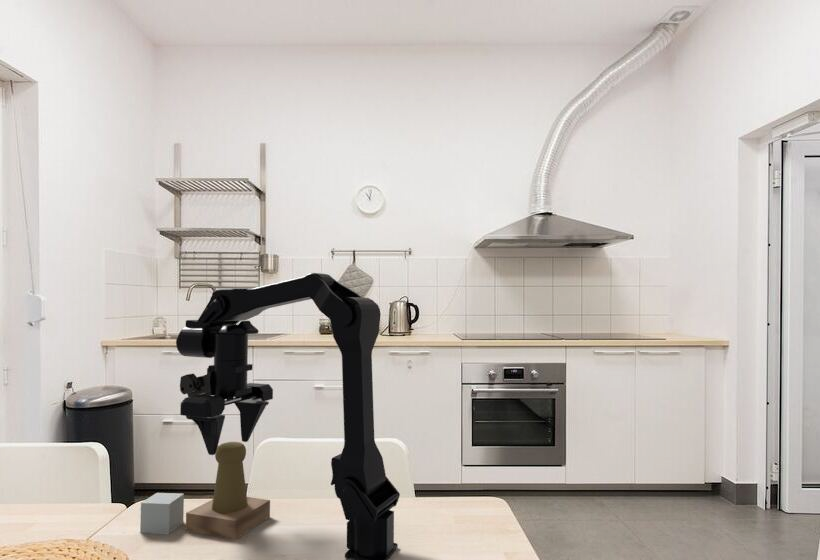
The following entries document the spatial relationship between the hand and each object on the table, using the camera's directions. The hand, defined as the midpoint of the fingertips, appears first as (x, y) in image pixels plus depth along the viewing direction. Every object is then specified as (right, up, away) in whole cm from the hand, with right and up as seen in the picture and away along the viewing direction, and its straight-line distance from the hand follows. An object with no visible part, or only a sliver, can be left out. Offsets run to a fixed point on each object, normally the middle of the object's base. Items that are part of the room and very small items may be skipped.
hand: (229, 447), depth 97 cm
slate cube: (-11, -13, -2) cm, 17 cm away
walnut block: (0, -13, -1) cm, 13 cm away
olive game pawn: (0, -10, -1) cm, 10 cm away
